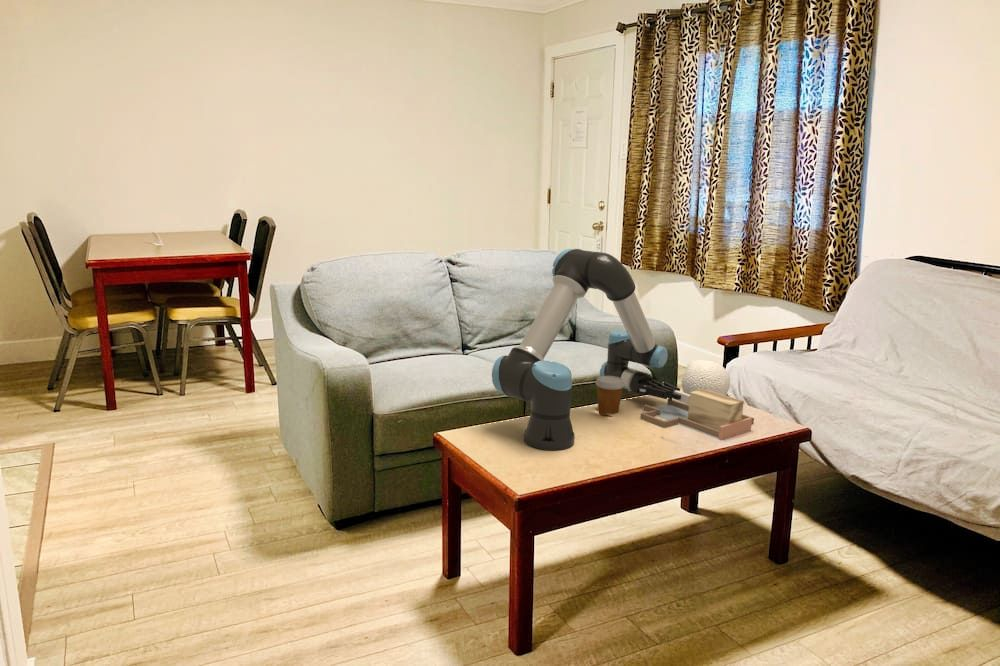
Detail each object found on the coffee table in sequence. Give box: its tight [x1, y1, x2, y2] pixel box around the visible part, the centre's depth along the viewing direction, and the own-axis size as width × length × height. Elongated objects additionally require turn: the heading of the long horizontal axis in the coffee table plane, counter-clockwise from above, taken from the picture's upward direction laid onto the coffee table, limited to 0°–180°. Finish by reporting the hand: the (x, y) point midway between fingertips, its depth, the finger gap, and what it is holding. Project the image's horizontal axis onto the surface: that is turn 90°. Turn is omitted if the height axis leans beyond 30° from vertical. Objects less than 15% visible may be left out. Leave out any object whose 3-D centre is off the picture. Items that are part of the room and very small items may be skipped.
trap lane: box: [639, 398, 755, 441], centre depth 247 cm, size 28×32×5 cm
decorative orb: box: [681, 359, 731, 396], centre depth 266 cm, size 20×18×16 cm
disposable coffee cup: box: [595, 376, 625, 418], centre depth 253 cm, size 10×10×12 cm
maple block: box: [688, 389, 745, 430], centre depth 241 cm, size 7×15×10 cm, turn 38°
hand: (690, 399), depth 247 cm, fingers closed
